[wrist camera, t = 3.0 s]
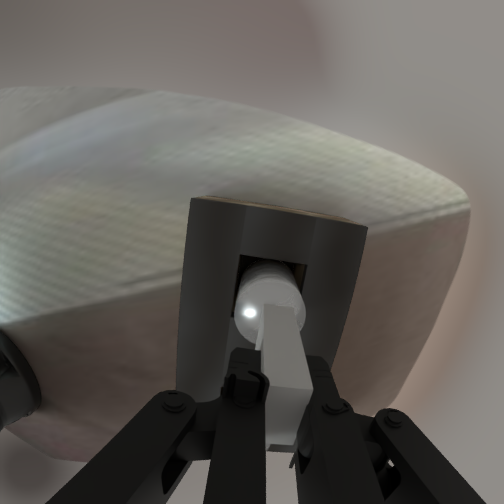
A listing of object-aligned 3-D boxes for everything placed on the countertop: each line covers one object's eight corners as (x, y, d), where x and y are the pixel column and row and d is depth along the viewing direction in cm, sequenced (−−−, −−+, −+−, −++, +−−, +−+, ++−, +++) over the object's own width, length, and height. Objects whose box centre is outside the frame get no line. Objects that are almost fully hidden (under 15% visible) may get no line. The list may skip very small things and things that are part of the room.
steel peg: (236, 305, 22) (230, 341, 17) (244, 254, 21) (239, 276, 16) (289, 313, 22) (297, 350, 17) (299, 262, 21) (312, 287, 16)
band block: (187, 400, 30) (175, 437, 24) (206, 195, 25) (190, 198, 19) (293, 414, 30) (298, 452, 24) (344, 218, 25) (368, 227, 19)
